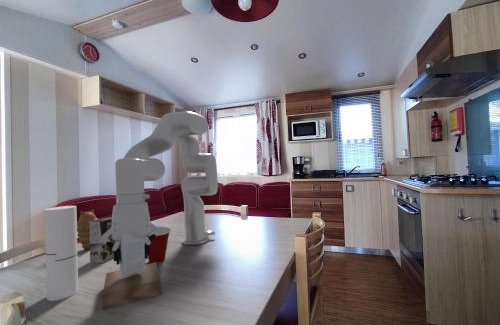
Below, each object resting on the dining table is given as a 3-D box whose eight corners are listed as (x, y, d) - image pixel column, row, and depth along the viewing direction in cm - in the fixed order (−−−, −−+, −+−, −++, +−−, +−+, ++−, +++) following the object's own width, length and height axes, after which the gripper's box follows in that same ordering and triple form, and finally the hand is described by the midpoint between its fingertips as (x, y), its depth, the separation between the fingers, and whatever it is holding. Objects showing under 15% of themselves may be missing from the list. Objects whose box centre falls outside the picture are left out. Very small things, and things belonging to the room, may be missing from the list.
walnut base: (155, 274, 77) (155, 262, 77) (161, 293, 65) (161, 279, 65) (106, 286, 71) (106, 273, 71) (102, 309, 58) (102, 294, 58)
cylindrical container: (58, 288, 70) (57, 206, 71) (83, 286, 71) (81, 205, 72) (39, 302, 63) (38, 210, 64) (67, 299, 64) (65, 209, 65)
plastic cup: (153, 268, 82) (152, 234, 83) (136, 263, 88) (135, 231, 88) (177, 257, 91) (176, 227, 92) (160, 253, 97) (159, 224, 98)
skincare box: (141, 265, 72) (139, 226, 72) (145, 269, 69) (144, 229, 69) (119, 272, 68) (118, 231, 68) (123, 276, 64) (122, 233, 65)
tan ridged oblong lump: (79, 254, 100) (79, 212, 101) (73, 250, 105) (73, 211, 106) (102, 248, 107) (101, 209, 108) (95, 245, 112) (95, 208, 113)
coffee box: (103, 263, 89) (102, 221, 90) (89, 262, 91) (88, 221, 91) (121, 254, 98) (120, 216, 99) (108, 253, 99) (107, 216, 100)
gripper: (160, 195, 76) (161, 250, 76) (97, 201, 68) (98, 262, 67) (163, 198, 69) (165, 257, 69) (94, 204, 61) (95, 272, 61)
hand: (132, 259), depth 68 cm, fingers closed on skincare box, 6 cm apart
